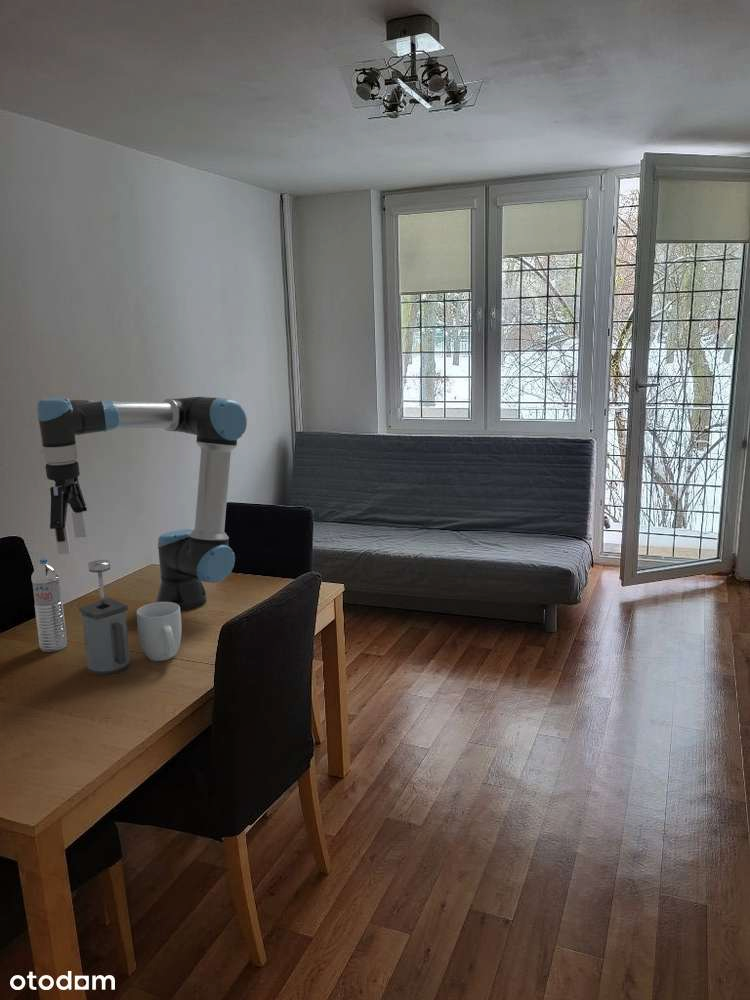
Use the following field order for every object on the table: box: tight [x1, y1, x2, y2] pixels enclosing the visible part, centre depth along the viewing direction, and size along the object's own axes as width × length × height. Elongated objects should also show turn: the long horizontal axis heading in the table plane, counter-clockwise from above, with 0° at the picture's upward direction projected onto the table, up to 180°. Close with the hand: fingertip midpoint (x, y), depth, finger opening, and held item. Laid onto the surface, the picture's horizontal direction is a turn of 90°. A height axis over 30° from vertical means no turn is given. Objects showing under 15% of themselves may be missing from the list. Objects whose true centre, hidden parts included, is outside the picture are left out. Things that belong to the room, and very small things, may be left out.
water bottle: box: [31, 557, 68, 653], centre depth 196 cm, size 7×7×25 cm
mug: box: [135, 601, 183, 662], centre depth 190 cm, size 15×11×13 cm
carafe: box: [78, 597, 131, 676], centre depth 185 cm, size 10×12×16 cm
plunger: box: [87, 559, 111, 609], centre depth 183 cm, size 6×6×16 cm
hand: (72, 544), depth 185 cm, fingers open, 13 cm apart
